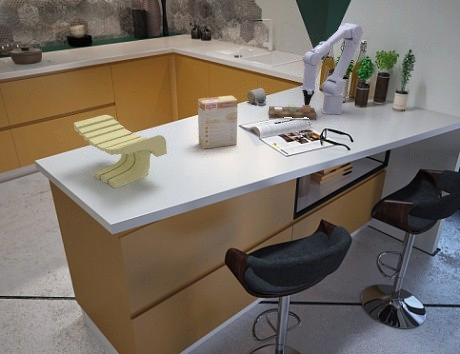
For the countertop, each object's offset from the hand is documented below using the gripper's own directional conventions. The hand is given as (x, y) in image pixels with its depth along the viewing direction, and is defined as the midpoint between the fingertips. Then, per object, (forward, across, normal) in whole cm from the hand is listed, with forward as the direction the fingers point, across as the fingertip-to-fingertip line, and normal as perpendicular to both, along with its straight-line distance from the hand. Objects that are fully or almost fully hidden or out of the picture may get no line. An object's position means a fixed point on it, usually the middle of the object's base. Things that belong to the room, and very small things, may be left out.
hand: (306, 104), depth 215 cm
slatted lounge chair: (+6, +75, -72) cm, 104 cm away
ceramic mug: (+6, -19, -24) cm, 31 cm away
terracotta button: (+4, 0, 0) cm, 4 cm away
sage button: (+4, 0, -7) cm, 8 cm away
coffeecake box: (+6, +42, -41) cm, 59 cm away
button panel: (+6, 0, -7) cm, 9 cm away
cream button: (+5, 0, -14) cm, 15 cm away
